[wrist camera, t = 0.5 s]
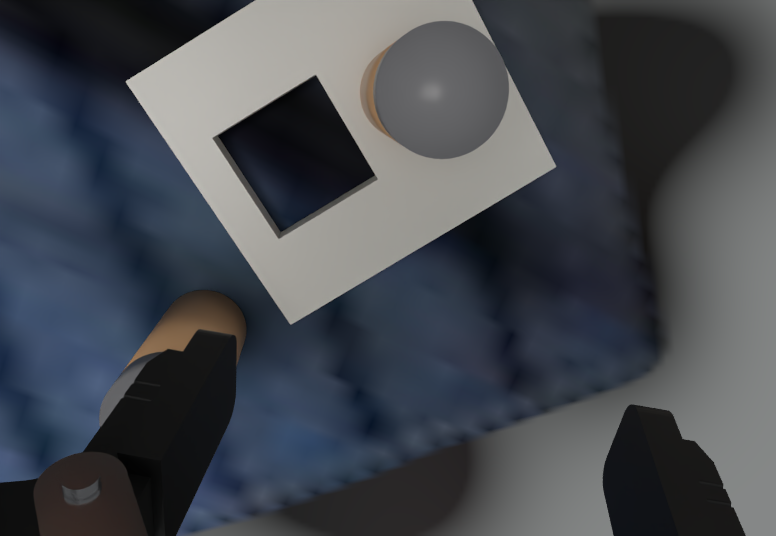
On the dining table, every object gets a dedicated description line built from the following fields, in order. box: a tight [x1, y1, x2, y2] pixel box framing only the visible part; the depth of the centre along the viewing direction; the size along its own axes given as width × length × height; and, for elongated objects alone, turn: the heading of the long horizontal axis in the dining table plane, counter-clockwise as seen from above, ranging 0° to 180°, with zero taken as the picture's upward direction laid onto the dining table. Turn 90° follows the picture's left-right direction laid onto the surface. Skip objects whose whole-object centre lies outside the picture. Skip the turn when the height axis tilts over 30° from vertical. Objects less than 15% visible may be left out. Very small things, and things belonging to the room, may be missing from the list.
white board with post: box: [126, 0, 556, 325], centre depth 32 cm, size 16×18×14 cm
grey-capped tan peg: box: [99, 290, 246, 427], centre depth 35 cm, size 5×5×12 cm
